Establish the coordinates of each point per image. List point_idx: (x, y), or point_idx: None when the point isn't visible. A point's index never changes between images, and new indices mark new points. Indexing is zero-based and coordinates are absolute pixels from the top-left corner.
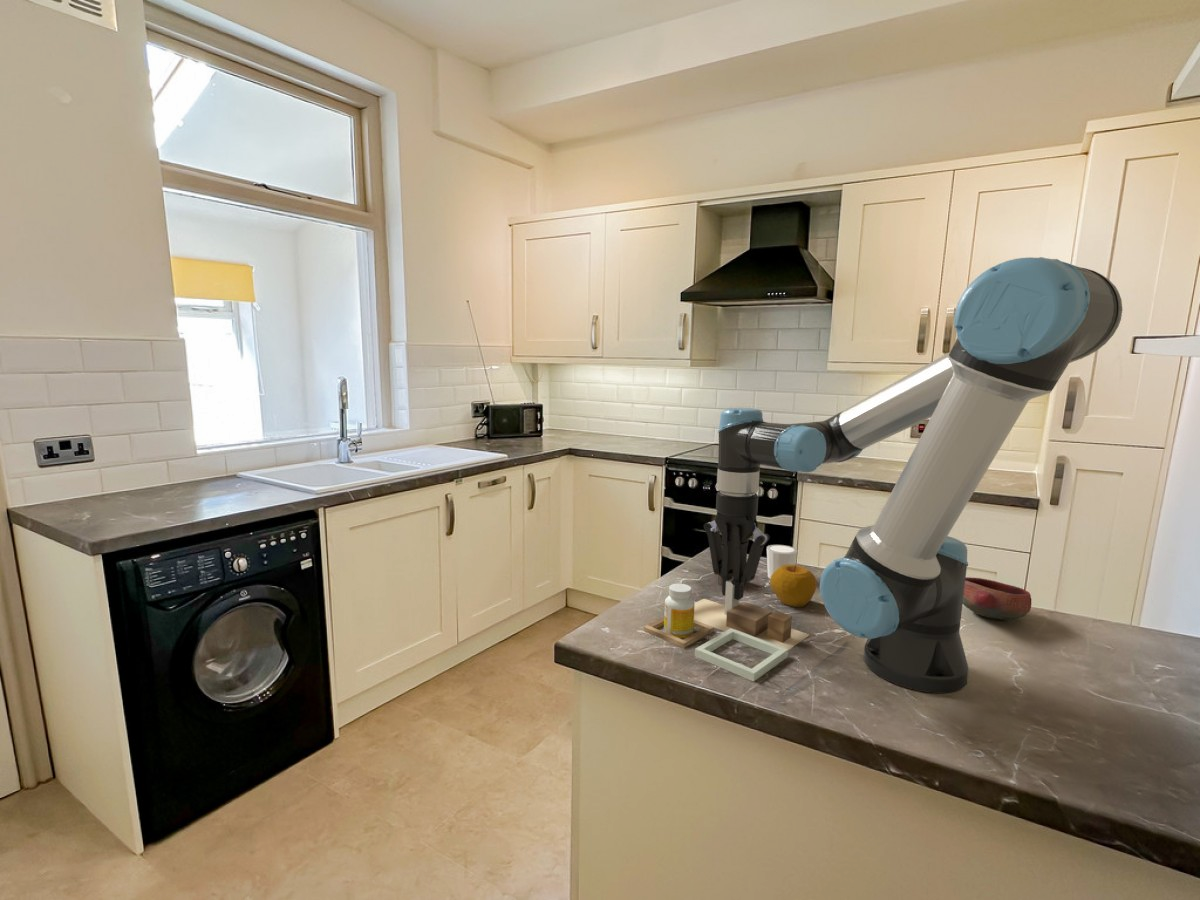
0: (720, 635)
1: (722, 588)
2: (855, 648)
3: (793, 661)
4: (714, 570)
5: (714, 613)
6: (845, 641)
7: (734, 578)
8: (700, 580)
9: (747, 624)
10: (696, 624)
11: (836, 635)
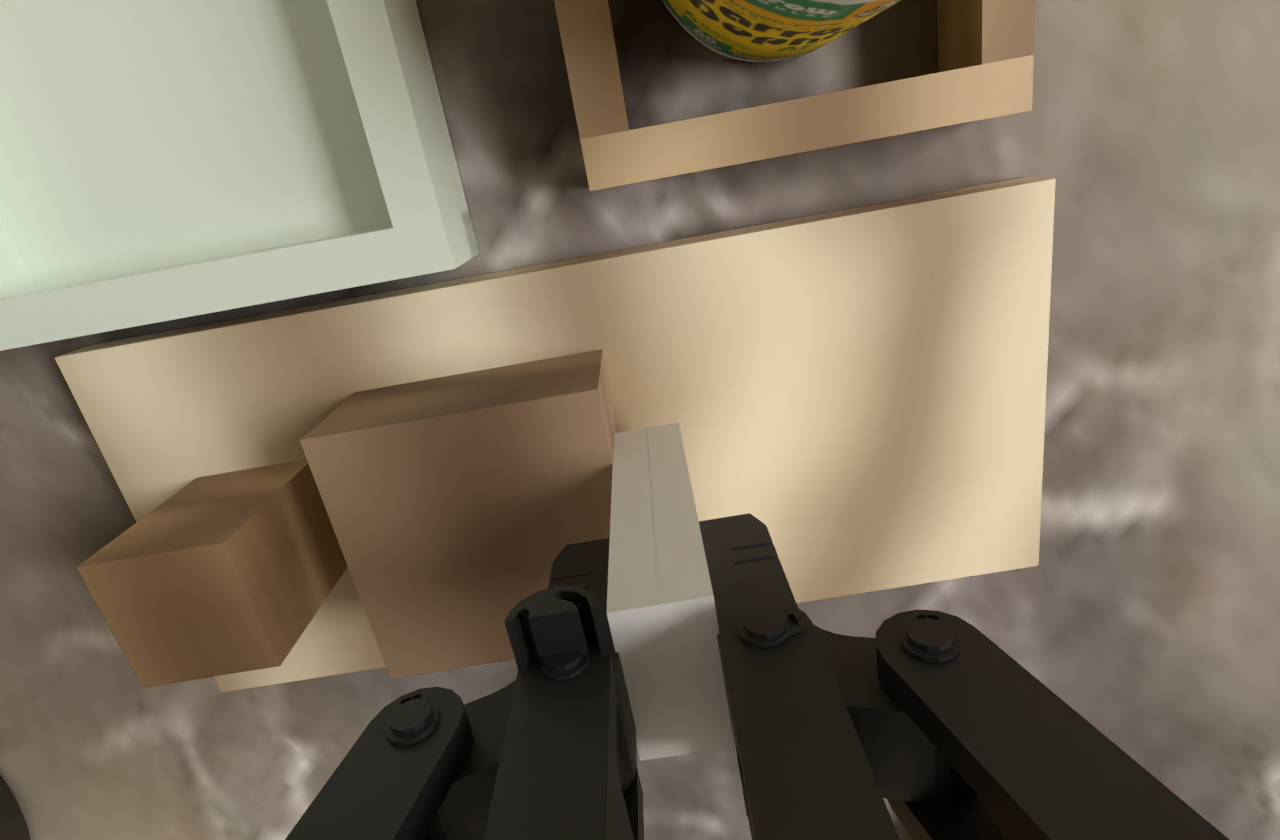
0: (388, 70)
1: (769, 549)
2: (75, 774)
3: (59, 389)
4: (963, 642)
5: (812, 440)
6: (162, 795)
7: (591, 678)
8: (1255, 774)
9: (398, 407)
10: (730, 111)
11: (239, 811)
